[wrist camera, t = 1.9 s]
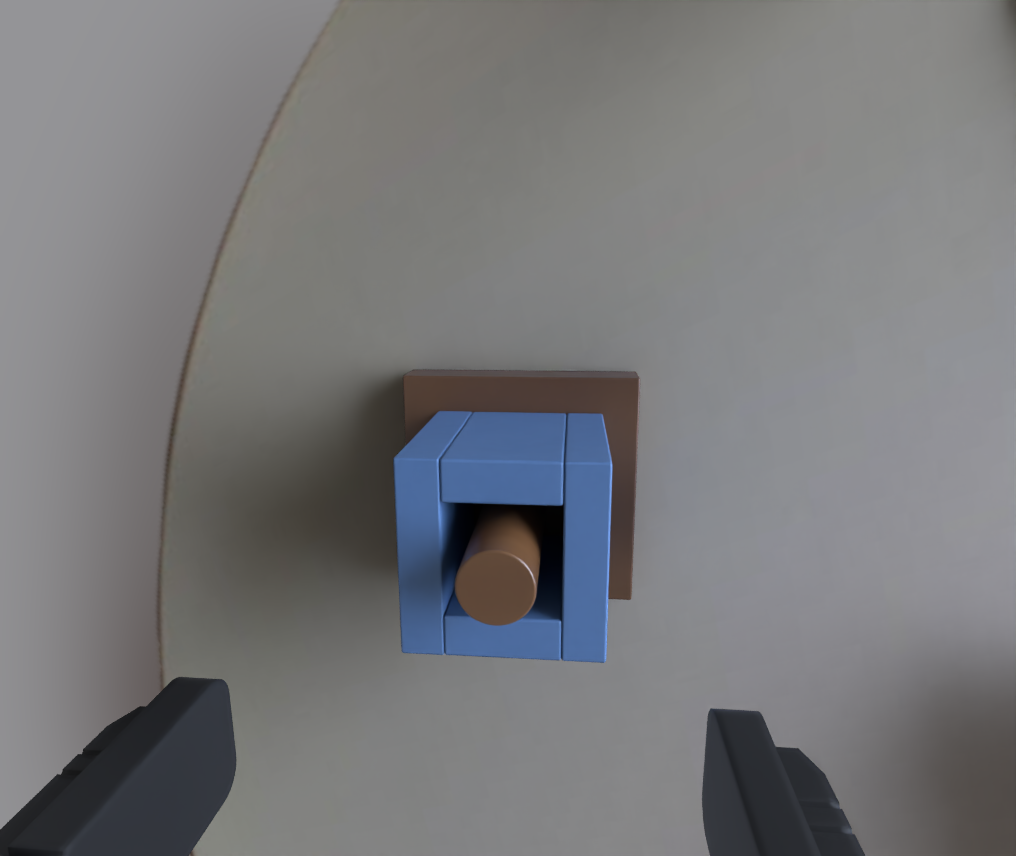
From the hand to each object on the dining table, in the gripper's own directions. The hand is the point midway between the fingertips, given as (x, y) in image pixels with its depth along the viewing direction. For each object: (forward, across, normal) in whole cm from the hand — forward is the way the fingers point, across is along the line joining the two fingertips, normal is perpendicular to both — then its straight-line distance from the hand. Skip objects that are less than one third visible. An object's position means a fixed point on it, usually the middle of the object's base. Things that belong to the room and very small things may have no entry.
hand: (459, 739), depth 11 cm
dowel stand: (+14, 0, 0) cm, 14 cm away
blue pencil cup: (+13, 0, 0) cm, 13 cm away
